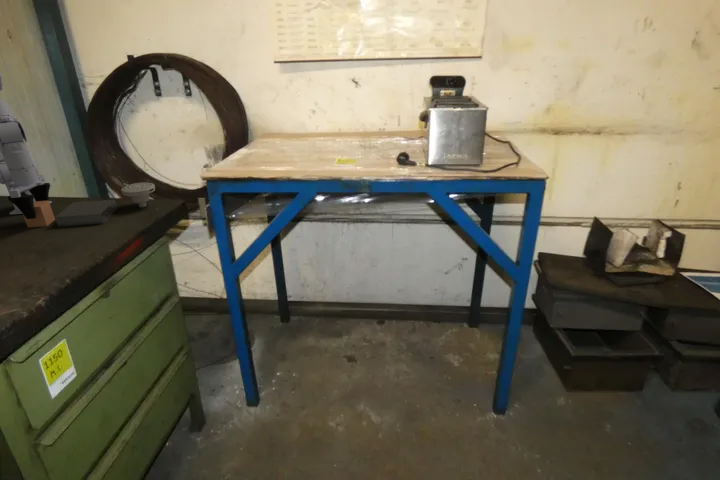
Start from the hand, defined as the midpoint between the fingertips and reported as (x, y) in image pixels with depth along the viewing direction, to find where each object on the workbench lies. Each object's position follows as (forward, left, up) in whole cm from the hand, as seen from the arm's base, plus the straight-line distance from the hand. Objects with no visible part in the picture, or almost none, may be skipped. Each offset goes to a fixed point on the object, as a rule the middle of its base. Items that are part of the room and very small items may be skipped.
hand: (38, 213), depth 121 cm
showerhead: (-9, +25, -3) cm, 27 cm away
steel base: (-2, +12, -3) cm, 12 cm away
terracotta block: (0, 0, -3) cm, 3 cm away
